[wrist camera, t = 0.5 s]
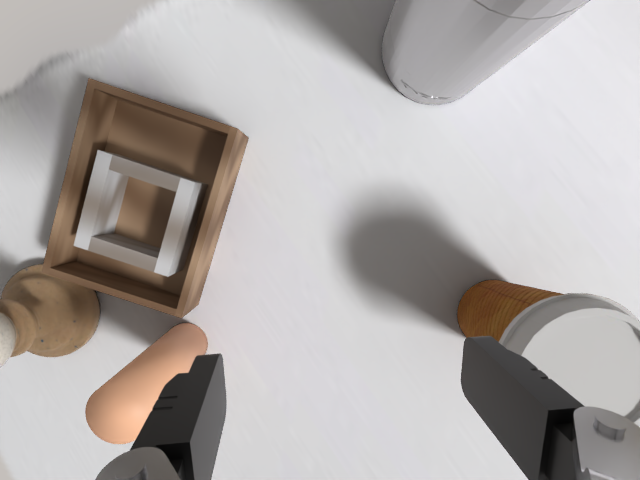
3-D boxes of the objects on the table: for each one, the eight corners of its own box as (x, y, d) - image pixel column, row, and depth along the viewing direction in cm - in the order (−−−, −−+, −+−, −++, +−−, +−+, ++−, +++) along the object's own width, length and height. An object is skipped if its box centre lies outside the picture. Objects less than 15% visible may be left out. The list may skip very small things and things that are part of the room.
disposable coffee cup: (542, 359, 32) (669, 452, 20) (440, 364, 33) (506, 458, 21) (543, 259, 31) (678, 295, 19) (438, 264, 31) (507, 303, 20)
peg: (172, 317, 32) (94, 376, 21) (212, 330, 32) (155, 396, 22) (160, 355, 33) (78, 432, 22) (200, 368, 33) (139, 452, 22)
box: (118, 93, 30) (88, 78, 26) (248, 137, 30) (237, 128, 27) (74, 264, 32) (41, 272, 28) (198, 304, 32) (181, 318, 28)
